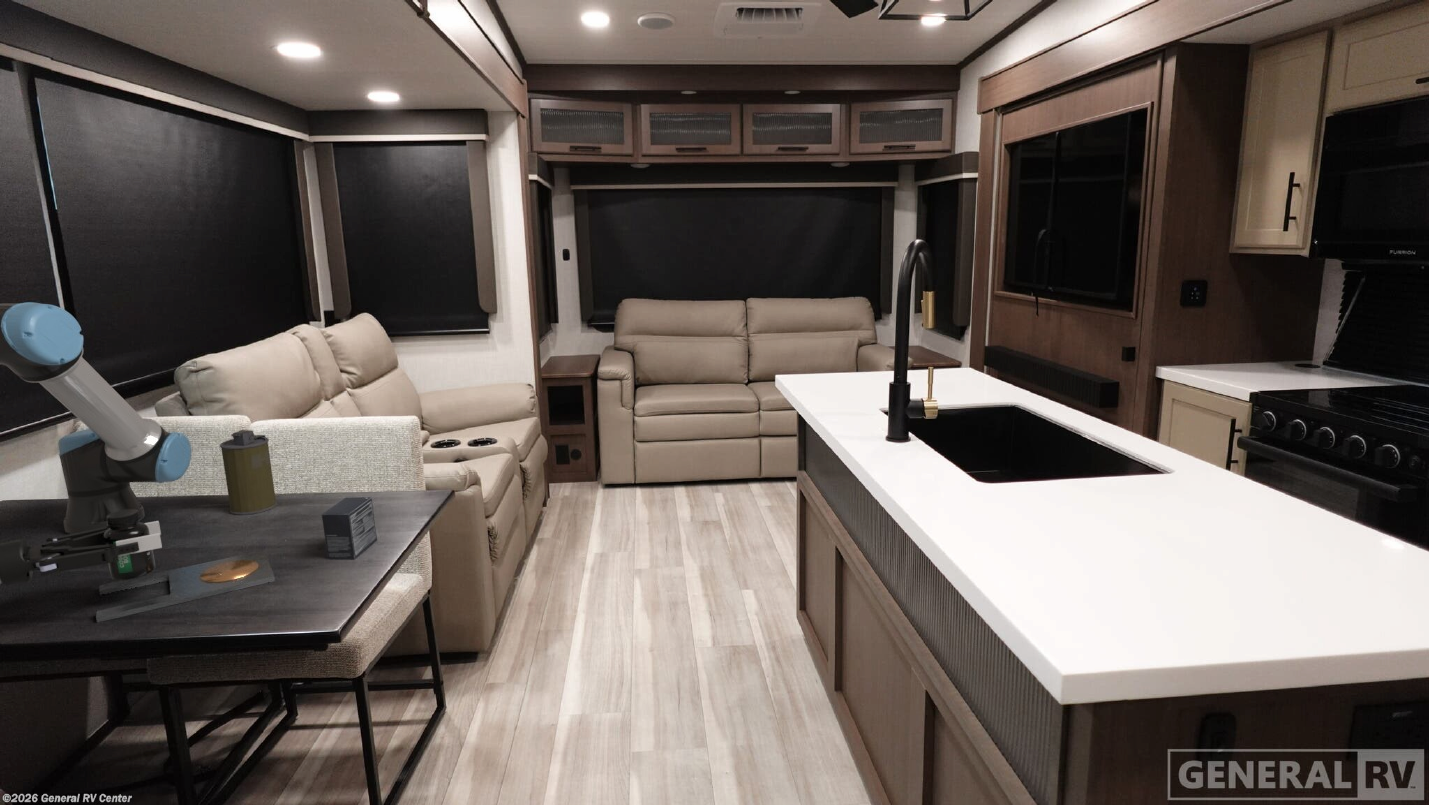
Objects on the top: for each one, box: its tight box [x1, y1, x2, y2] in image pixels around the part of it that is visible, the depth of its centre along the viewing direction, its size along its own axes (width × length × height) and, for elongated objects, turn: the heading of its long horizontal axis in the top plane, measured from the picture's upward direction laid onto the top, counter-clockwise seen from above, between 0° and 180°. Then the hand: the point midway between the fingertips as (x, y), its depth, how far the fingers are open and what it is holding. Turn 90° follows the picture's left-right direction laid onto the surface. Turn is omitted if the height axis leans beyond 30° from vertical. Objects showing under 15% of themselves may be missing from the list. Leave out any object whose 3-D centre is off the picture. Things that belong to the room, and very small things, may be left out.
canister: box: [219, 429, 278, 516], centre depth 191 cm, size 11×10×20 cm
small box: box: [321, 496, 378, 560], centre depth 167 cm, size 11×6×10 cm, turn 178°
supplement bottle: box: [103, 509, 156, 581], centre depth 144 cm, size 7×7×12 cm
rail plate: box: [95, 550, 276, 623], centre depth 151 cm, size 28×16×1 cm, turn 126°
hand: (160, 533), depth 146 cm, fingers closed on supplement bottle, 7 cm apart
